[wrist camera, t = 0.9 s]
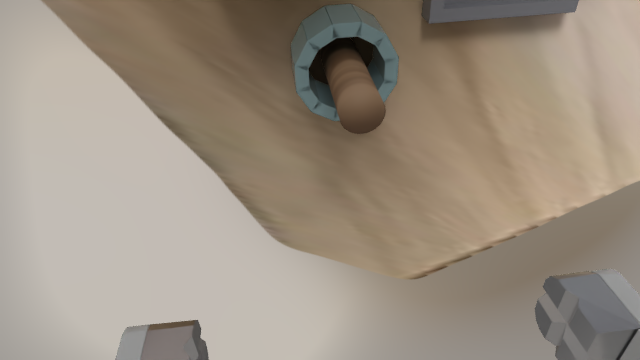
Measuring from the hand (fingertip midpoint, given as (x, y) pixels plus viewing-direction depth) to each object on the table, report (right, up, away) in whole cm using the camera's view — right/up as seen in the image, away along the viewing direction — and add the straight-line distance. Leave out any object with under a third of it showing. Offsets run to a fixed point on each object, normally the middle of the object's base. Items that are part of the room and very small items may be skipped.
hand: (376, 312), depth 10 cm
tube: (+1, +15, +33) cm, 37 cm away
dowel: (+1, +15, +33) cm, 37 cm away
